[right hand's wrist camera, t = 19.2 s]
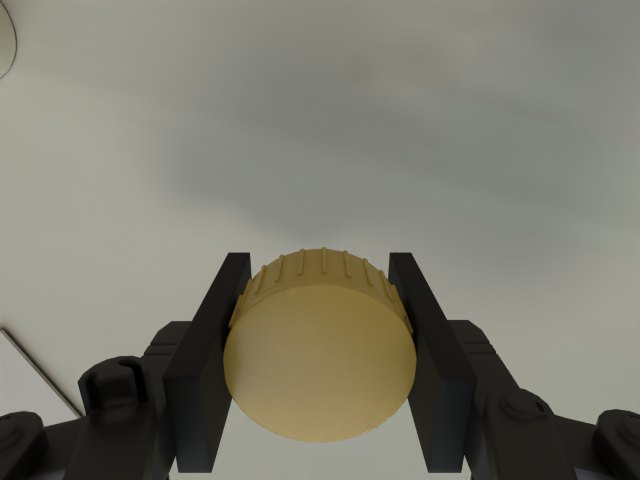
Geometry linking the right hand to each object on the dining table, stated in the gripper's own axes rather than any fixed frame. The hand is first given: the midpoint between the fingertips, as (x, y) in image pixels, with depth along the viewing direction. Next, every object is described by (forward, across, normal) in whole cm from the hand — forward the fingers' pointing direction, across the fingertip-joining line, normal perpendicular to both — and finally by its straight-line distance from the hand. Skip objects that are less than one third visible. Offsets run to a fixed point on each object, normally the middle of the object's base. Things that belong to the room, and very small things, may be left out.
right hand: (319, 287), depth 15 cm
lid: (-4, 0, 0) cm, 4 cm away
